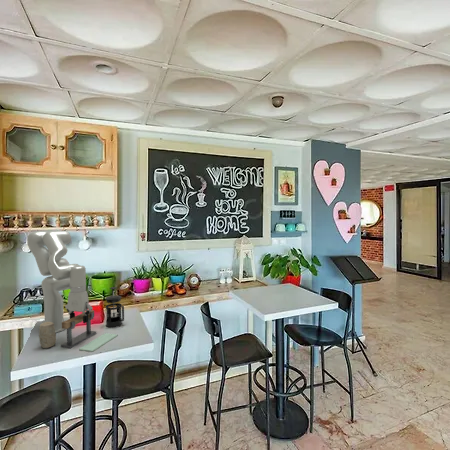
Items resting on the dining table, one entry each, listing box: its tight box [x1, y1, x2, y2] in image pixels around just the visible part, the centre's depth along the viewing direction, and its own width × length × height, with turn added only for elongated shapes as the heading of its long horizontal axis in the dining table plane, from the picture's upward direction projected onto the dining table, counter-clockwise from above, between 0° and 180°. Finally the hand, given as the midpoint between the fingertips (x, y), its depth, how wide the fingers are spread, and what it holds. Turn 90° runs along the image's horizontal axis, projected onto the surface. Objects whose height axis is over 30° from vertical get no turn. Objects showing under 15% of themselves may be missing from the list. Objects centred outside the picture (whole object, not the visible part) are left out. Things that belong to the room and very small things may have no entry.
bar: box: [62, 309, 95, 330], centre depth 157 cm, size 3×20×3 cm, turn 165°
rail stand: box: [60, 312, 97, 349], centre depth 157 cm, size 6×19×12 cm, turn 165°
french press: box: [105, 286, 125, 329], centre depth 178 cm, size 12×9×23 cm
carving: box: [38, 322, 57, 349], centre depth 150 cm, size 6×8×12 cm
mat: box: [78, 332, 119, 353], centre depth 154 cm, size 8×20×1 cm, turn 165°
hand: (79, 321), depth 157 cm, fingers open, 7 cm apart
